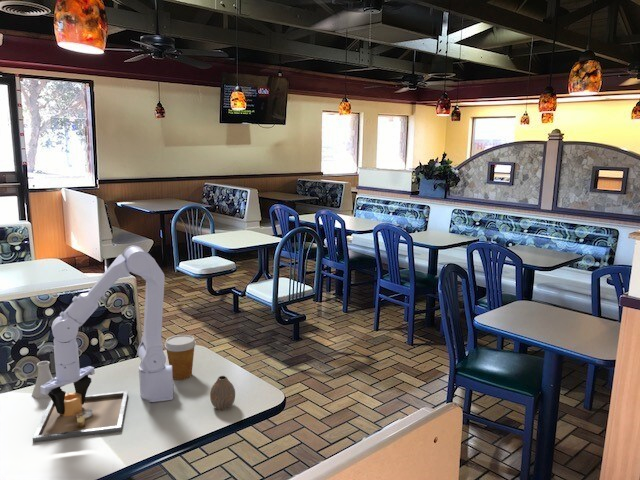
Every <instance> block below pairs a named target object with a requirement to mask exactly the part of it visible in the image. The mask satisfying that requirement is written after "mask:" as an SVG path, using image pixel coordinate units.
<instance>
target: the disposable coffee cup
mask: <svg viewBox="0 0 640 480" xmlns="http://www.w3.org/2000/svg"><path fill="white" fill-rule="evenodd" d="M196 344H197V341H196V340H195V337H194V336H193V335H188V334H178V335H177V334H176V335H173V336H170V337H167V338H166V340H165V342H164V347H165V351H166V354H167V361H168V365H172V373H173V380H175V381H176V380H177V381H183V380H186V379H189V378H191V377H192V375H193V366H194V355H195V346H196Z"/></svg>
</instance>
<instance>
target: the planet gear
mask: <svg viewBox="0 0 640 480" xmlns="http://www.w3.org/2000/svg"><path fill="white" fill-rule="evenodd" d="M64 407H65V412H64V414H60V415H63V416H72V415H75V414H77V412H79V411H81V410H82V398H81V394H79V393H76V392H68V393H67V392H66V394H65V399H64Z"/></svg>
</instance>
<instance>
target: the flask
mask: <svg viewBox="0 0 640 480" xmlns="http://www.w3.org/2000/svg"><path fill="white" fill-rule="evenodd" d="M50 364H51V362H50V361H48V360H42V361H39V362H37V364H36V367H37V377H36V380H35V384H34V387H33V391H32V392H31V397H32V398H36V399H48V398H50V397H49V395H48V394H47V395H44V394H42V393H41V390H40V386H42V385H44V384H46V383H47V382H49V381H51V380H52V379H54V377H53V375H52V373H51V370H50Z"/></svg>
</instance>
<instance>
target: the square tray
mask: <svg viewBox="0 0 640 480" xmlns="http://www.w3.org/2000/svg"><path fill="white" fill-rule="evenodd" d="M118 397H123V399H122V404H121V409H120V414H119V419H118V423H117V426H110V427H102V428H94V429H86V430H78V431H70V432H61V433H53V434H45V435H41V433H42V431H43V429H44V427H45V425H46V423H47V420H48V418H49V416H50V414H51V412H52V410H53V407H54V403H53V401H52V399H51V398H50V401H49V403H48V405H47V407H46V409H45V411H44V413H43V416H42V418H41V419H40V422H39V424H38V426H37V428H36V430H35V432H34V434H33V436H32V443H33V444H34V442H36V443H43V442H42V441H44V442H51V441H50V440H52V441H58V439H60V440H67V439H66V438H68V439H75V438H74V437H76V438H83V437H82V436H84V437H91V436H90V435H92V436H98V434H99V435H106V433H107V434H113V433H114V432H115V433H121V432H122V430H123V425H122V424H123V423H124V418H125V412H126V409H125V408H126V407H127V402H128V397H129V391H128V390H123V391H115V392H105V393H97V394H86V396H85V401H90V400H99V399H108V398H118ZM80 415H84V416H85V420H88V419H90V418H91V417H92V416H93V411H92V410H90V409H85V410H81V411H79V412H77V414H76V419H77V417H78V416H80ZM115 433H114V434H115Z"/></svg>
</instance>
